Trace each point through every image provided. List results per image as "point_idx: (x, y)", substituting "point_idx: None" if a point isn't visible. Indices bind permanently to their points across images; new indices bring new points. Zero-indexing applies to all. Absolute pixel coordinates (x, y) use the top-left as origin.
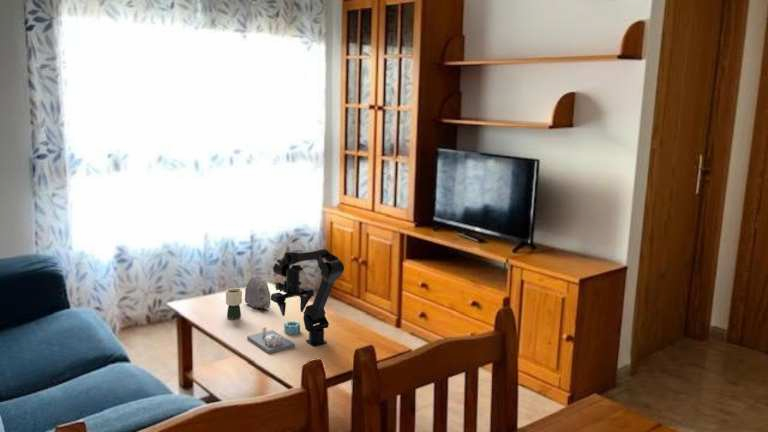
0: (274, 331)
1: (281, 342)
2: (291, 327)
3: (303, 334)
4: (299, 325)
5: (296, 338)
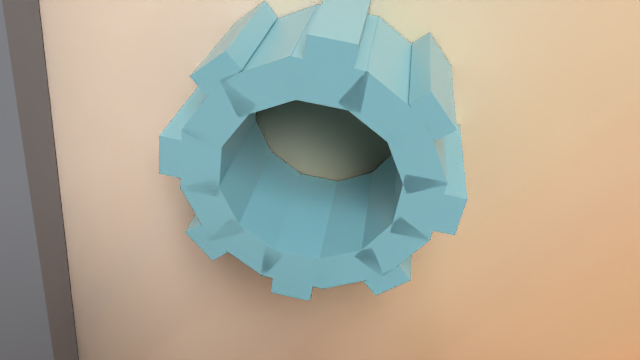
0: (2, 37)
1: None
2: (214, 252)
3: None
4: (374, 285)
5: (224, 296)
